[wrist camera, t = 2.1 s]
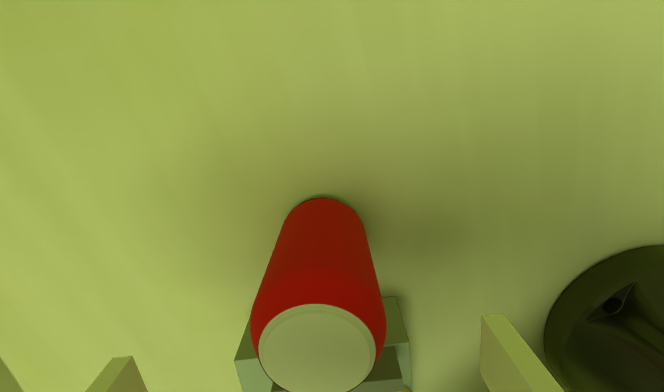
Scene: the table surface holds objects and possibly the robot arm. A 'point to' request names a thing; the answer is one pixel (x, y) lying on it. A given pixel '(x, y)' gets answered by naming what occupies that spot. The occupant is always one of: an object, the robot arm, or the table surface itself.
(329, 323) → the beverage can
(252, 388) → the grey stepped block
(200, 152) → the table surface
